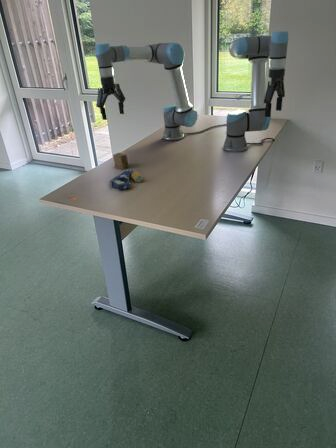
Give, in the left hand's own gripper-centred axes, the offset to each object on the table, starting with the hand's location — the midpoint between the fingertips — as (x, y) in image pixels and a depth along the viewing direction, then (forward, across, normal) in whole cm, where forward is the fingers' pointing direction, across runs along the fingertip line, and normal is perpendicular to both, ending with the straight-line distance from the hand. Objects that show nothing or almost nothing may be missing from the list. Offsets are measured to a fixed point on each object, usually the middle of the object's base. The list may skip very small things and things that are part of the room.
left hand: (113, 116), depth 190 cm
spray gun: (+31, +15, +20) cm, 39 cm away
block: (+31, 0, 0) cm, 31 cm away
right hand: (+1, -38, +78) cm, 87 cm away
